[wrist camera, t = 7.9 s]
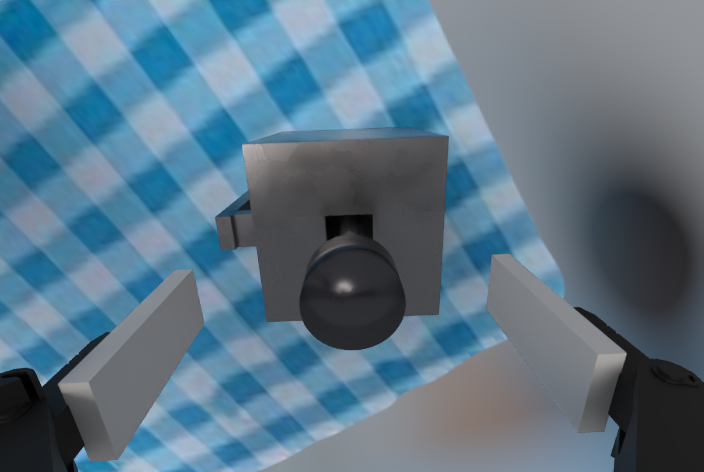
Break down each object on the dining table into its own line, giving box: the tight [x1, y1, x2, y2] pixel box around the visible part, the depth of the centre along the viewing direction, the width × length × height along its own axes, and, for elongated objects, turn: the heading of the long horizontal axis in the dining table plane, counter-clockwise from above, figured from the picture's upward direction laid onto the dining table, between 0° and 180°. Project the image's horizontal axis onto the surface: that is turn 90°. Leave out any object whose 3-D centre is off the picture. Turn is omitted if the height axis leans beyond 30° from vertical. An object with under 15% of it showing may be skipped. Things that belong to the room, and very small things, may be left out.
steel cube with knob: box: [215, 127, 449, 322], centre depth 29 cm, size 15×12×14 cm
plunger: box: [299, 214, 406, 350], centre depth 23 cm, size 9×9×19 cm
